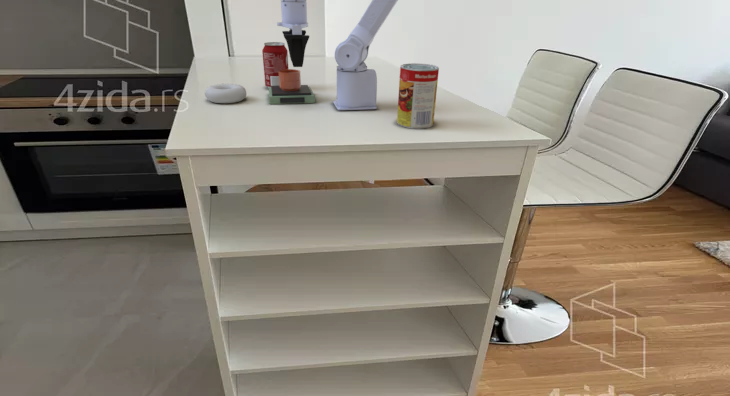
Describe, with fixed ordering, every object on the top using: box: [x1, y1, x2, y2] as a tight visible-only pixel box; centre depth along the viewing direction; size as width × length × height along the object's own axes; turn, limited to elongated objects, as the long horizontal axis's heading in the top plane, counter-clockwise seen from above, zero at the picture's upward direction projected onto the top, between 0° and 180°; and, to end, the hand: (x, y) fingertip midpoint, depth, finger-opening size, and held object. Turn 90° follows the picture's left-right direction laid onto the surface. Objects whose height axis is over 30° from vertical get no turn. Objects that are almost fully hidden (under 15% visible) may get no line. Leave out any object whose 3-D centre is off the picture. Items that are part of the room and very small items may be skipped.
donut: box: [204, 83, 247, 104], centre depth 106 cm, size 10×4×10 cm
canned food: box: [396, 62, 440, 130], centre depth 89 cm, size 8×8×12 cm
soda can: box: [262, 41, 289, 89], centre depth 118 cm, size 7×7×12 cm
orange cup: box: [278, 68, 302, 91], centre depth 108 cm, size 5×5×4 cm
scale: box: [268, 84, 316, 105], centre depth 109 cm, size 11×11×2 cm
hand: (296, 64), depth 101 cm, fingers open, 7 cm apart
